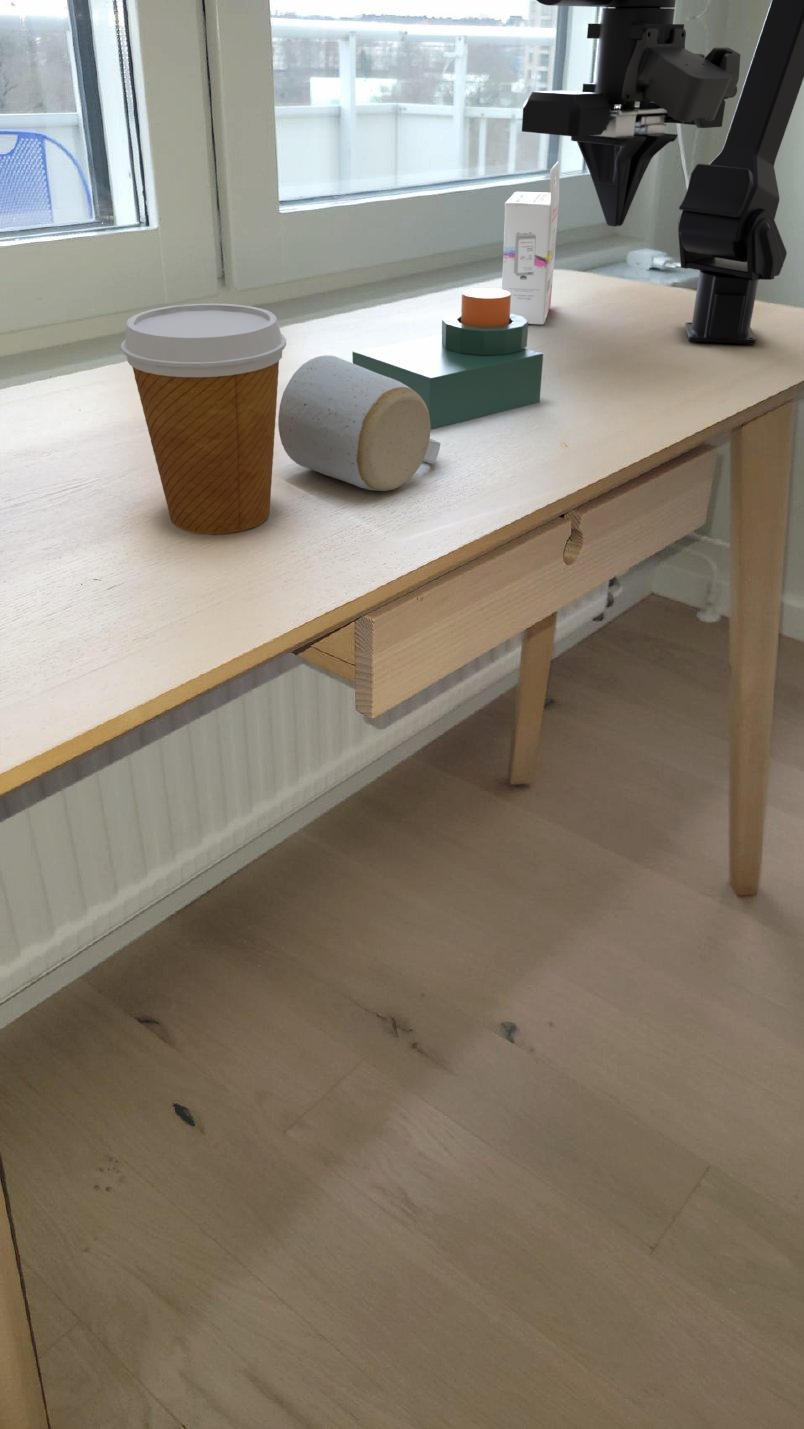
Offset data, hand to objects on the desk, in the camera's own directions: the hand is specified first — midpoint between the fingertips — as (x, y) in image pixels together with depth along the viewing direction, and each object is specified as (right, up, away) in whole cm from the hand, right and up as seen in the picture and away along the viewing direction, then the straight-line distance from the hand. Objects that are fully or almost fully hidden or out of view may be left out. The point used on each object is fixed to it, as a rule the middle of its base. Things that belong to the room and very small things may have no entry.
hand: (614, 226), depth 92 cm
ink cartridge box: (-5, +1, +24) cm, 25 cm away
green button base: (-15, -16, -3) cm, 22 cm away
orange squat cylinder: (-11, -10, -4) cm, 16 cm away
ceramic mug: (-21, -25, -17) cm, 37 cm away
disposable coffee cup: (-30, -30, -24) cm, 48 cm away
